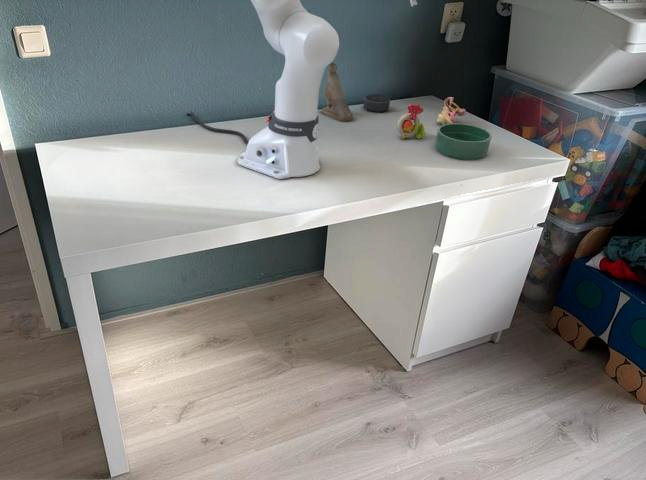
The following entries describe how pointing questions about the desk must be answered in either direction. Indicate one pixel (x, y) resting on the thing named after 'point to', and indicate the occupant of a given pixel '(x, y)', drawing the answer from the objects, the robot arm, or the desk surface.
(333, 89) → the worn brown figurine
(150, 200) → the desk surface
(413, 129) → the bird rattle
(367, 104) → the smart speaker
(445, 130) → the bowl
